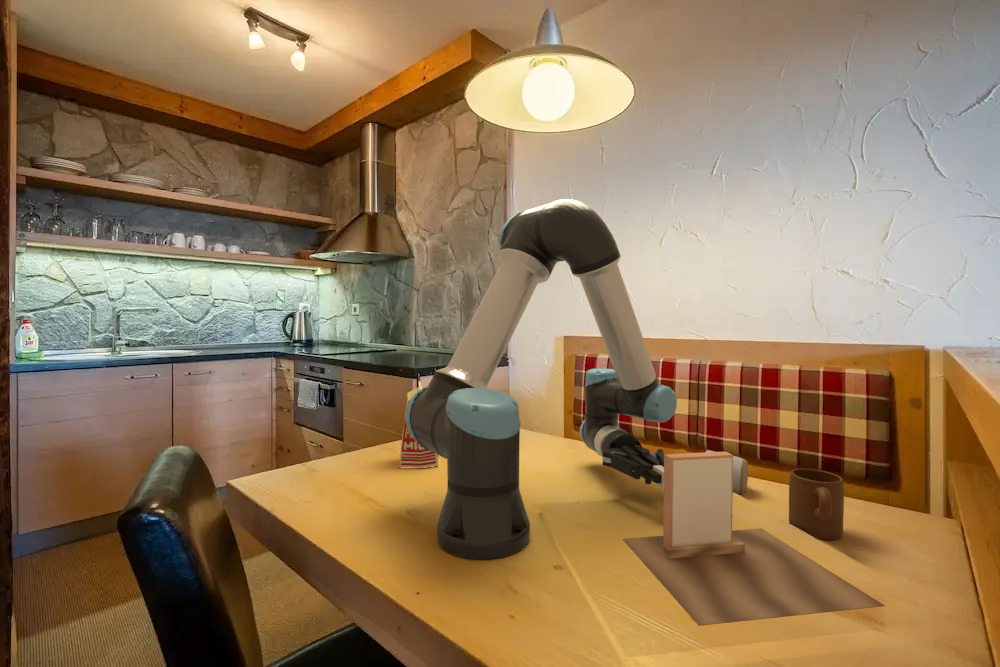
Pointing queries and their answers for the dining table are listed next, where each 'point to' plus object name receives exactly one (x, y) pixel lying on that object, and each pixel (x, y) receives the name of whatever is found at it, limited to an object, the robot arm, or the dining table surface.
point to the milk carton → (415, 447)
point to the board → (746, 579)
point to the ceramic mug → (739, 474)
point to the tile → (697, 499)
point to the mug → (816, 503)
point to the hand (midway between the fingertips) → (675, 485)
